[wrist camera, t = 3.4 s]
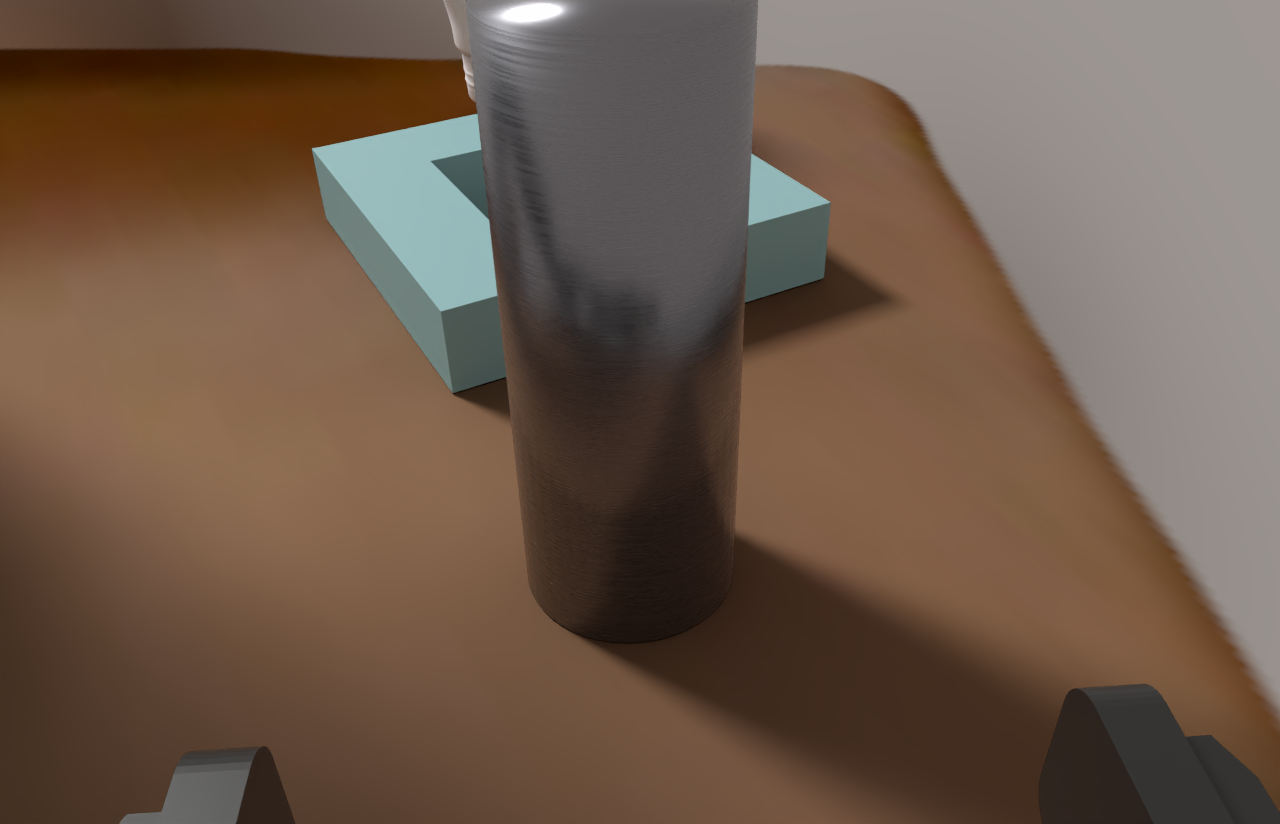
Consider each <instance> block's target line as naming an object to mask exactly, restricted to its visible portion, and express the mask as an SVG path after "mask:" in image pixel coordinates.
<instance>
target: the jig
mask: <svg viewBox="0 0 1280 824" xmlns="http://www.w3.org/2000/svg"><path fill="white" fill-rule="evenodd" d="M312 152H313V157H314V161H315V166H316V171H317V176H318V181H319V185H320V190H321V195H322V200H323V205H324V210H325V214H326V219H327V220H328V221H329V223H330V224H331V226H332V227H333V228H334V230H335V231H336V232H337V234H338V235H339V237H340V238H341V239H342V241H343V242H344V243H345V245H346V246H347V248H348V249H349V250H350V252H351V253H352V255H353V256H354V257H355V259H356V260H357V261H358V263H359V264H360V266H361V267H362V268H363V270H364V271H365V273H366V274H367V275H368V277H369V278H370V279H371V281H372V282H373V284H374V285H375V286H376V288H377V289H378V291H379V292H380V293H381V295H382V296H383V297H384V299H385V300H386V302H387V303H388V304H389V306H390V307H391V308H392V310H393V311H394V313H395V314H396V315H397V317H398V318H399V320H400V321H401V322H402V324H403V325H404V326H405V328H406V329H407V331H408V332H409V333H410V335H411V336H412V338H413V339H414V340H415V342H416V343H417V344H418V346H419V347H420V349H421V350H422V351H423V353H424V354H425V356H426V357H427V358H428V360H429V361H430V362H431V364H432V365H433V367H434V368H435V369H436V371H437V372H438V373H439V375H440V376H441V378H442V379H443V380H444V382H445V383H446V385H447V386H448V387H449V389H450V390H451V391H452V393H455V392H459V391H462V390H465V389H468V388H471V387H475V386H478V385H481V384H484V383H488V382H491V381H494V380H497V379H500V378H504V377H506V370H505V361H504V352H503V343H502V334H501V325H500V316H499V306H498V297H497V288H496V279H495V270H494V261H493V252H492V243H491V234H490V224H489V215H488V206H487V197H486V188H485V179H484V170H483V161H482V151H481V142H480V133H479V124H478V115H477V114H475V115H470V116H465V117H460V118H456V119H451V120H446V121H441V122H437V123H432V124H427V125H422V126H418V127H413V128H408V129H403V130H399V131H394V132H389V133H385V134H380V135H375V136H370V137H366V138H361V139H356V140H351V141H347V142H342V143H337V144H332V145H328V146H323V147H318V148H313V149H312ZM830 203H831V202H829V201H827V200H826V199H824V198H823V197H821V196H819V195H818V194H816V193H814V192H813V191H811V190H810V189H808V188H806V187H805V186H803V185H801V184H800V183H798V182H797V181H795V180H793V179H792V178H790V177H789V176H787V175H785V174H784V173H782V172H780V171H779V170H777V169H776V168H774V167H772V166H771V165H769V164H768V163H766V162H764V161H763V160H761V159H759V158H758V157H756V156H755V155H753V154H751V174H750V197H749V219H748V242H747V265H746V287H745V302H748V301H752V300H755V299H758V298H761V297H765V296H768V295H771V294H774V293H777V292H781V291H784V290H787V289H790V288H794V287H797V286H800V285H803V284H806V283H810V282H813V281H816V280H819V279H823V278H824V272H825V260H826V249H827V238H828V226H829V215H830Z"/></svg>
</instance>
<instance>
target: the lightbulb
mask: <svg viewBox="0 0 1280 824" xmlns="http://www.w3.org/2000/svg"><path fill="white" fill-rule="evenodd" d="M443 1H444V3H445V6H446V9H447V12H448V15H449V19H450V22H451V26H452V31H453V37H454V42H455V45H456V47H457V49H458V50H459V51H461V53H462V58H463V64H464V71H465V75H466V76H465V79H466V82H467V87H468V93H469V96H470V98H471V99H472V100H473V101H474V102H475V103H476V97H475V88H474V79H473V69H472V60H471V51H470V42H469V33H468V24H467V15H466V6H465V0H443Z"/></svg>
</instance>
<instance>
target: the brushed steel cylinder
mask: <svg viewBox="0 0 1280 824" xmlns="http://www.w3.org/2000/svg"><path fill="white" fill-rule="evenodd" d="M465 6H466V15H467V24H468V33H469V42H470V51H471V60H472V69H473V79H474V88H475V97H476V106H477V115H478V124H479V133H480V142H481V151H482V161H483V170H484V179H485V188H486V197H487V206H488V215H489V224H490V234H491V243H492V252H493V261H494V270H495V279H496V288H497V297H498V306H499V316H500V325H501V334H502V343H503V352H504V361H505V370H506V379H507V389H508V398H509V407H510V416H511V425H512V434H513V443H514V452H515V461H516V471H517V480H518V489H519V498H520V507H521V516H522V525H523V534H524V544H525V553H526V562H527V571H528V579H529V585H530V588H531V591H532V594H533V596H534V597H535V599H536V601H537V603H538V604H539V605H540V607H541V608H542V609H543V611H544V612H545V613H546V614H548V615H549V616H550V617H551V618H552V619H553V620H554V621H556V622H557V623H559V624H560V625H562V626H563V627H565V628H567V629H569V630H571V631H573V632H575V633H578V634H580V635H583V636H585V637H589V638H593V639H596V640H601V641H607V642H615V643H641V642H648V641H655V640H660V639H663V638H667V637H671V636H674V635H676V634H679V633H682V632H684V631H686V630H688V629H690V628H692V627H694V626H695V625H697V624H698V623H700V622H701V621H703V620H704V619H706V618H707V617H708V616H709V615H710V614H711V613H713V612H714V611H715V610H716V608H717V607H718V606H719V605H720V604H721V602H722V601H723V599H724V598H725V596H726V594H727V592H728V590H729V587H730V585H731V581H732V576H733V559H734V537H735V514H736V491H737V469H738V446H739V423H740V401H741V378H742V355H743V333H744V310H745V287H746V265H747V242H748V219H749V197H750V174H751V151H752V129H753V106H754V83H755V58H756V38H757V14H758V0H465Z"/></svg>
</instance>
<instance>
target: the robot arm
mask: <svg viewBox="0 0 1280 824" xmlns="http://www.w3.org/2000/svg"><path fill="white" fill-rule="evenodd" d="M1039 805H1040V813H1041V818H1042V823H1043V824H1280V813H1279V811H1278V810H1277V808H1276V807H1275V805H1274V803H1273V802H1272V800H1271V798H1270V797H1269V795H1268V793H1267V792H1266V790H1265V789H1264V787H1263V785H1262V784H1261V782H1260V780H1259V779H1258V778H1257V777H1256V776H1255V775H1254V774H1253V773H1252V772H1251V771H1250V770H1249V769H1248V768H1246V767H1245V766H1244V765H1243V764H1242V763H1241V762H1240V761H1239V760H1238V759H1236V758H1235V757H1234V756H1233V755H1232V754H1231V753H1230V752H1229V751H1228V750H1227V749H1225V748H1224V747H1223V746H1222V745H1221V744H1220V743H1219V742H1218V741H1217V740H1216V739H1214V738H1213V737H1212V736H1211V735H1206V736H1191V737H1185V735H1184V734H1183V732H1182V730H1181V728H1180V727H1179V725H1178V723H1177V721H1176V720H1175V718H1174V716H1173V714H1172V713H1171V711H1170V709H1169V707H1168V705H1167V704H1166V702H1165V701H1164V699H1163V697H1162V696H1161V695H1160V694H1159V692H1158V691H1157V690H1156V689H1154V688H1153V687H1152V686H1150V685H1147V684H1134V685H1119V686H1104V687H1089V688H1075V689H1072V690H1071V691H1069V692H1068V694H1067V695H1066V698H1065V700H1064V703H1063V706H1062V710H1061V713H1060V716H1059V719H1058V722H1057V725H1056V728H1055V732H1054V735H1053V738H1052V741H1051V744H1050V747H1049V750H1048V754H1047V757H1046V760H1045V763H1044V766H1043V769H1042V772H1041V776H1040V781H1039ZM119 824H295V821H294V818H293V816H292V813H291V810H290V807H289V804H288V801H287V798H286V795H285V792H284V789H283V786H282V783H281V780H280V777H279V774H278V772H277V769H276V766H275V763H274V760H273V757H272V755H271V752H270V751H269V749H268V748H267V747H264V746H261V747H247V748H232V749H217V750H202V751H189V752H187V753H185V754H184V755H183V756H182V758H181V759H180V761H179V762H178V764H177V766H176V769H175V772H174V774H173V778H172V781H171V784H170V787H169V790H168V793H167V796H166V799H165V803H164V806H163V809H162V812H152V813H138V814H127V815H126V816H125V817H124V818H123V820H122V821H121V822H120V823H119Z"/></svg>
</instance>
